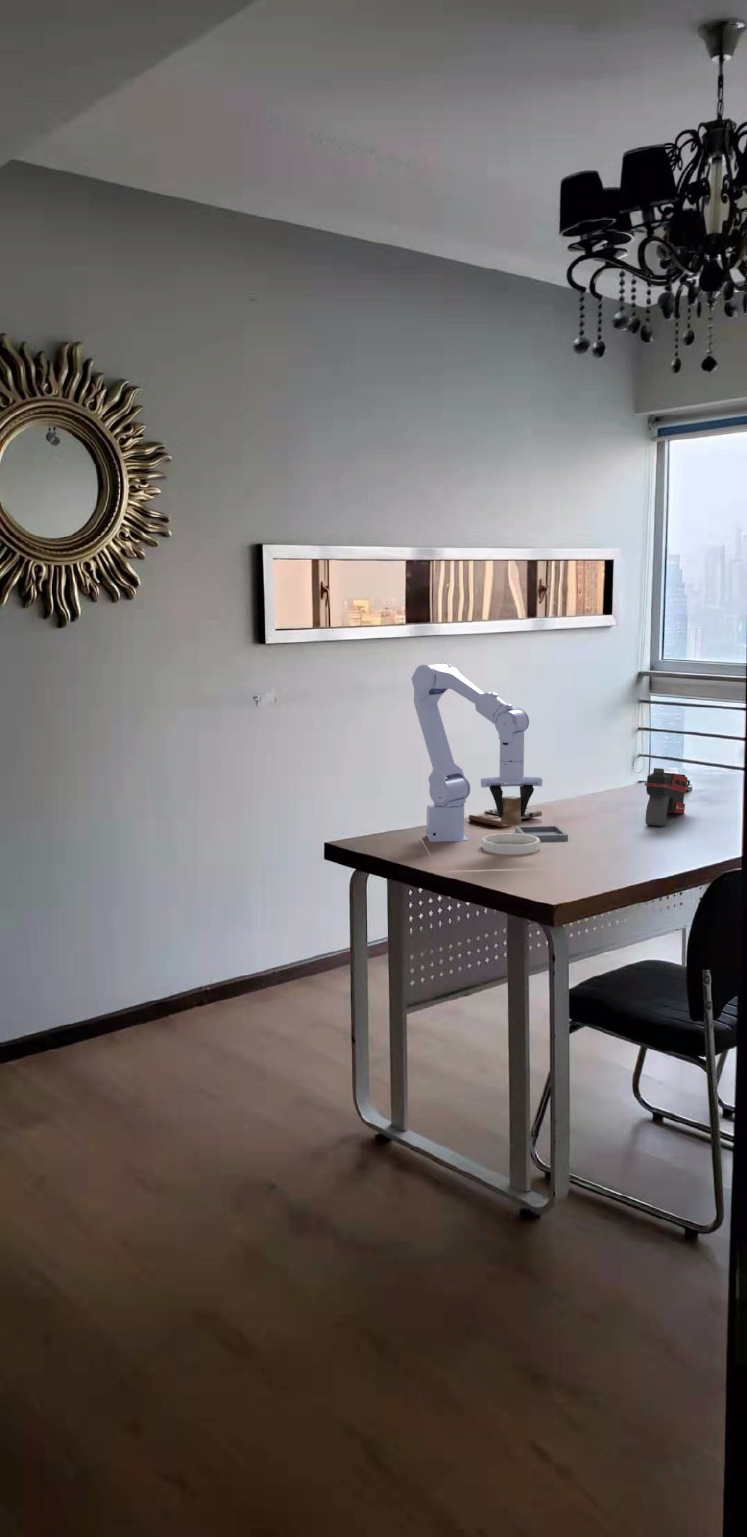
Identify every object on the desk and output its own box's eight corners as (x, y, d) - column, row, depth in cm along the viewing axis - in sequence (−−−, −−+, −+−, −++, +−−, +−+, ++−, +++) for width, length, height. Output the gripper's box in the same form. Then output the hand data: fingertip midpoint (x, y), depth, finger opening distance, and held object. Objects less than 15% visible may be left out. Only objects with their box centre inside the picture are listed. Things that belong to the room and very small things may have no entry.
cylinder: (502, 825, 284) (503, 800, 283) (499, 821, 288) (499, 796, 288) (522, 824, 284) (523, 799, 283) (518, 820, 289) (519, 796, 288)
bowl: (487, 856, 280) (487, 846, 280) (478, 843, 294) (478, 833, 293) (544, 855, 281) (544, 844, 281) (532, 842, 294) (533, 832, 294)
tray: (523, 843, 294) (524, 835, 294) (515, 833, 305) (515, 826, 305) (567, 841, 295) (568, 834, 295) (557, 832, 306) (557, 825, 305)
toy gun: (641, 824, 310) (646, 766, 311) (663, 827, 331) (668, 773, 332) (661, 826, 308) (667, 768, 309) (683, 829, 329) (688, 775, 329)
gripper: (484, 763, 279) (483, 820, 282) (545, 762, 280) (544, 818, 283) (479, 758, 286) (479, 814, 289) (539, 757, 287) (538, 813, 290)
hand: (511, 816), depth 286 cm, fingers closed on cylinder, 5 cm apart
